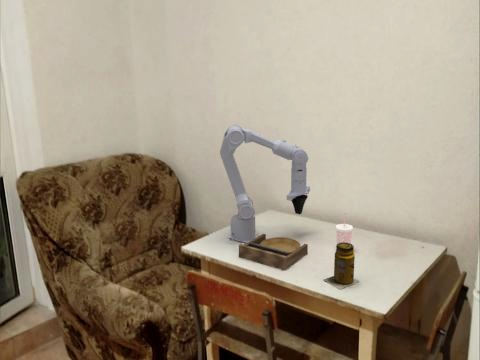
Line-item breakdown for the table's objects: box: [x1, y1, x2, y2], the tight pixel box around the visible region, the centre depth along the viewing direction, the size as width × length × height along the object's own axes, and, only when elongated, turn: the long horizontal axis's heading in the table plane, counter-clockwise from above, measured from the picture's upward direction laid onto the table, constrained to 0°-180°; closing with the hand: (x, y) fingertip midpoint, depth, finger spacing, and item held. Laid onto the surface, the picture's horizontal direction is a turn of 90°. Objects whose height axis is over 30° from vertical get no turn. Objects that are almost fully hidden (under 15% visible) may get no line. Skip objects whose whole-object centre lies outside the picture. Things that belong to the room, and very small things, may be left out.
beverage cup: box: [335, 213, 354, 245], centre depth 163 cm, size 6×6×14 cm
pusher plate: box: [249, 242, 289, 256], centre depth 159 cm, size 16×1×4 cm, turn 54°
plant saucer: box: [260, 236, 302, 254], centre depth 165 cm, size 15×15×3 cm
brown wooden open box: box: [238, 233, 309, 271], centre depth 161 cm, size 19×16×4 cm
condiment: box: [323, 242, 360, 290], centre depth 141 cm, size 7×8×12 cm
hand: (298, 213), depth 176 cm, fingers closed
